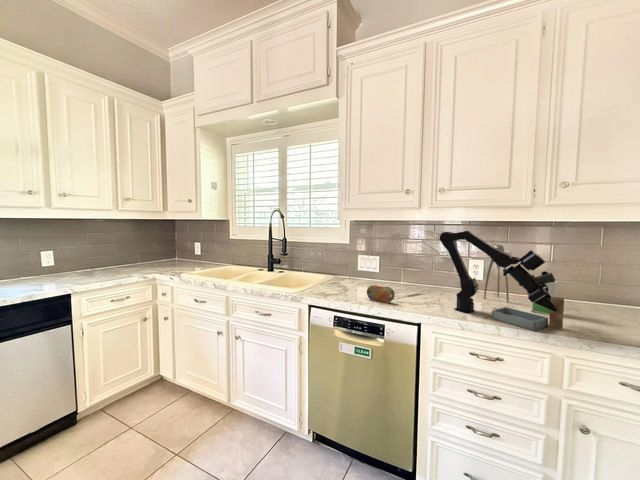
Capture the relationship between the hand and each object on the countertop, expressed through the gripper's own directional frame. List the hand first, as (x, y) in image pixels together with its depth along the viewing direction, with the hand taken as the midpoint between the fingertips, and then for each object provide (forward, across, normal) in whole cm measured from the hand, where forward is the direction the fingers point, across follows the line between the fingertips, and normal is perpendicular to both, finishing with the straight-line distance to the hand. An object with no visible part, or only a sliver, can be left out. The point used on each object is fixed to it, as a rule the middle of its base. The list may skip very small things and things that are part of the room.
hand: (556, 308), depth 109 cm
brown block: (+6, 0, +6) cm, 8 cm away
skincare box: (+3, +21, +9) cm, 23 cm away
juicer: (-10, +31, +22) cm, 39 cm away
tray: (-3, -2, +14) cm, 14 cm away
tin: (-45, -12, +56) cm, 73 cm away
